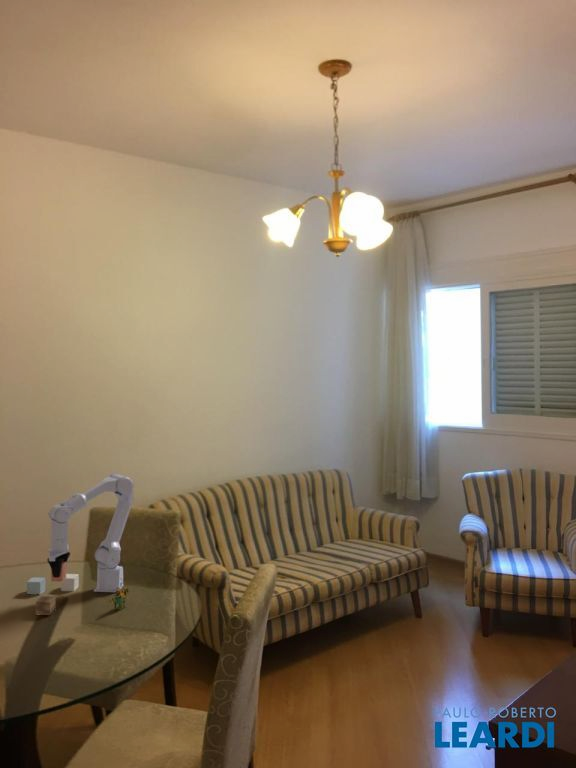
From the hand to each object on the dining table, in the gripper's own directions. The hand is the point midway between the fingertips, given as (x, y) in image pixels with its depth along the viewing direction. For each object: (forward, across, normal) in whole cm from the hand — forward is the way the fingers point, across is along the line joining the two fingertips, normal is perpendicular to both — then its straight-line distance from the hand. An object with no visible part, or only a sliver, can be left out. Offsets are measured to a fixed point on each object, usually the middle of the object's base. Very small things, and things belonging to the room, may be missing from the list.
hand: (58, 574), depth 235 cm
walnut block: (+10, +12, 0) cm, 15 cm away
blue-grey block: (+10, -7, -11) cm, 16 cm away
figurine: (+10, +7, +24) cm, 27 cm away
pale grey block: (+10, -12, 0) cm, 15 cm away
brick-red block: (+2, 0, 0) cm, 2 cm away
